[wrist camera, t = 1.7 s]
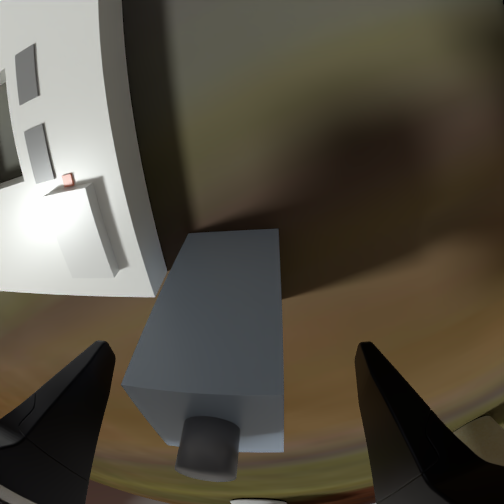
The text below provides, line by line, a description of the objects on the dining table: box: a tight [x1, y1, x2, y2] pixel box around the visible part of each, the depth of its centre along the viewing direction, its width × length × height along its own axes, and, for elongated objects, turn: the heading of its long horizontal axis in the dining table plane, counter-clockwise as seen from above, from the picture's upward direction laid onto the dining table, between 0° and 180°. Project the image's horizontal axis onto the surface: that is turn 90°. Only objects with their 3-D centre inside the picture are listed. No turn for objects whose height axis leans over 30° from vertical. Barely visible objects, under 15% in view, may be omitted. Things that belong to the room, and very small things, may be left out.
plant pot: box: [453, 416, 504, 466], centre depth 20 cm, size 15×15×16 cm
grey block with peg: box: [121, 229, 284, 482], centre depth 10 cm, size 4×4×10 cm
